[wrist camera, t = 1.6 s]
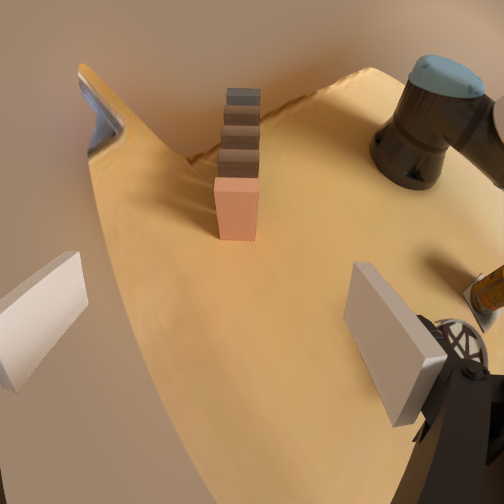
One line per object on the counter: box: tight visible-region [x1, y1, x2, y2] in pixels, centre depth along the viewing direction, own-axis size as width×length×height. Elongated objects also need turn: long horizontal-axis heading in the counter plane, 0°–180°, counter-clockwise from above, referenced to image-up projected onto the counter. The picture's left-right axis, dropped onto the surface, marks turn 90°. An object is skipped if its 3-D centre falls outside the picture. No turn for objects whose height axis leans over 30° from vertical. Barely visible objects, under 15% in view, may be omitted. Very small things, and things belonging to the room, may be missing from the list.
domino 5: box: [214, 177, 259, 241], centre depth 40 cm, size 2×5×12 cm, turn 89°
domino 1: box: [226, 88, 260, 106], centre depth 48 cm, size 2×5×12 cm, turn 89°
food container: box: [434, 319, 488, 369], centre depth 33 cm, size 12×6×10 cm, turn 14°
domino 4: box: [217, 149, 259, 178], centre depth 42 cm, size 2×5×12 cm, turn 89°
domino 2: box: [224, 105, 260, 126], centre depth 46 cm, size 2×5×12 cm, turn 89°
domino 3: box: [221, 126, 260, 150], centre depth 44 cm, size 2×5×12 cm, turn 89°
